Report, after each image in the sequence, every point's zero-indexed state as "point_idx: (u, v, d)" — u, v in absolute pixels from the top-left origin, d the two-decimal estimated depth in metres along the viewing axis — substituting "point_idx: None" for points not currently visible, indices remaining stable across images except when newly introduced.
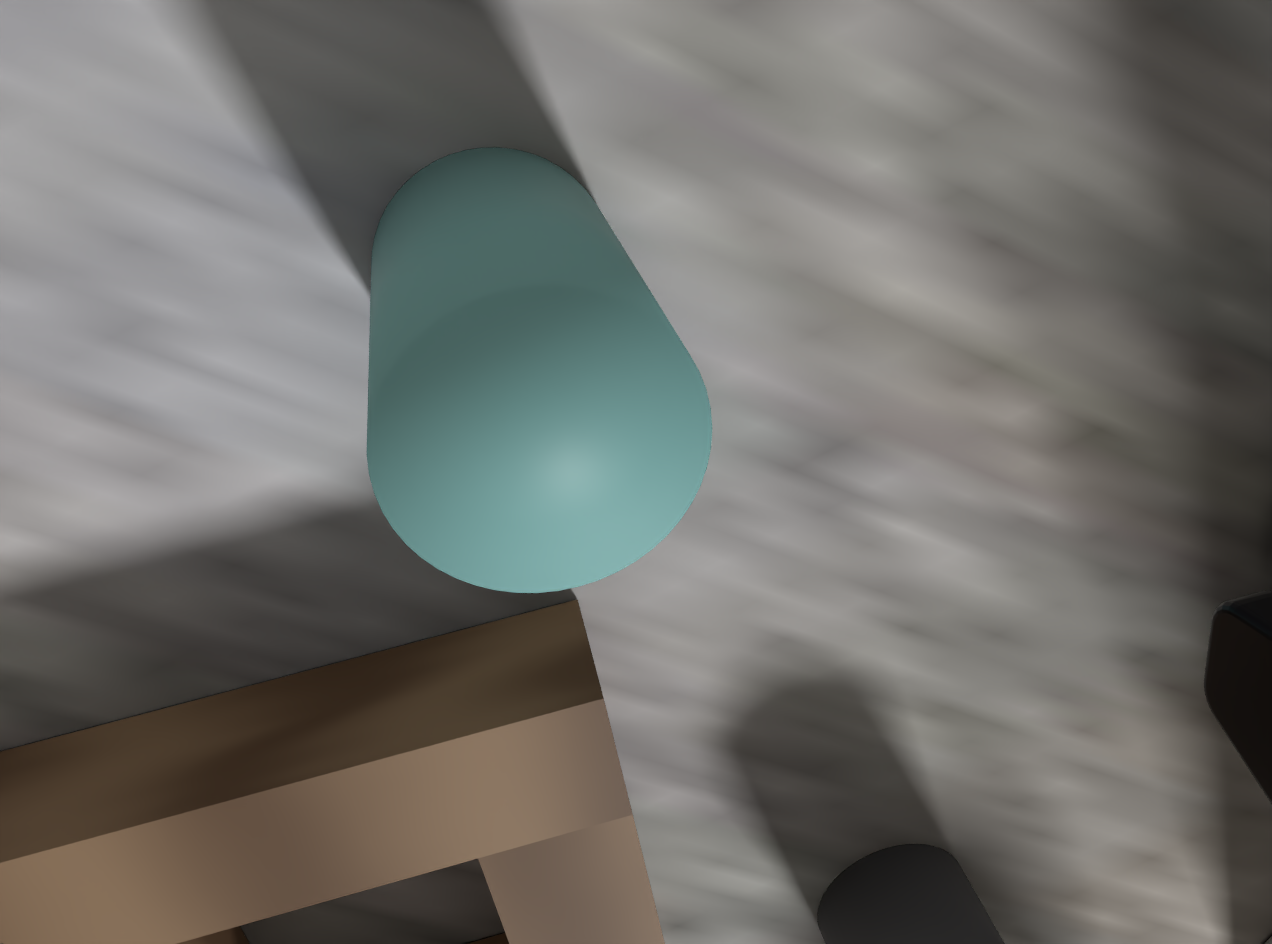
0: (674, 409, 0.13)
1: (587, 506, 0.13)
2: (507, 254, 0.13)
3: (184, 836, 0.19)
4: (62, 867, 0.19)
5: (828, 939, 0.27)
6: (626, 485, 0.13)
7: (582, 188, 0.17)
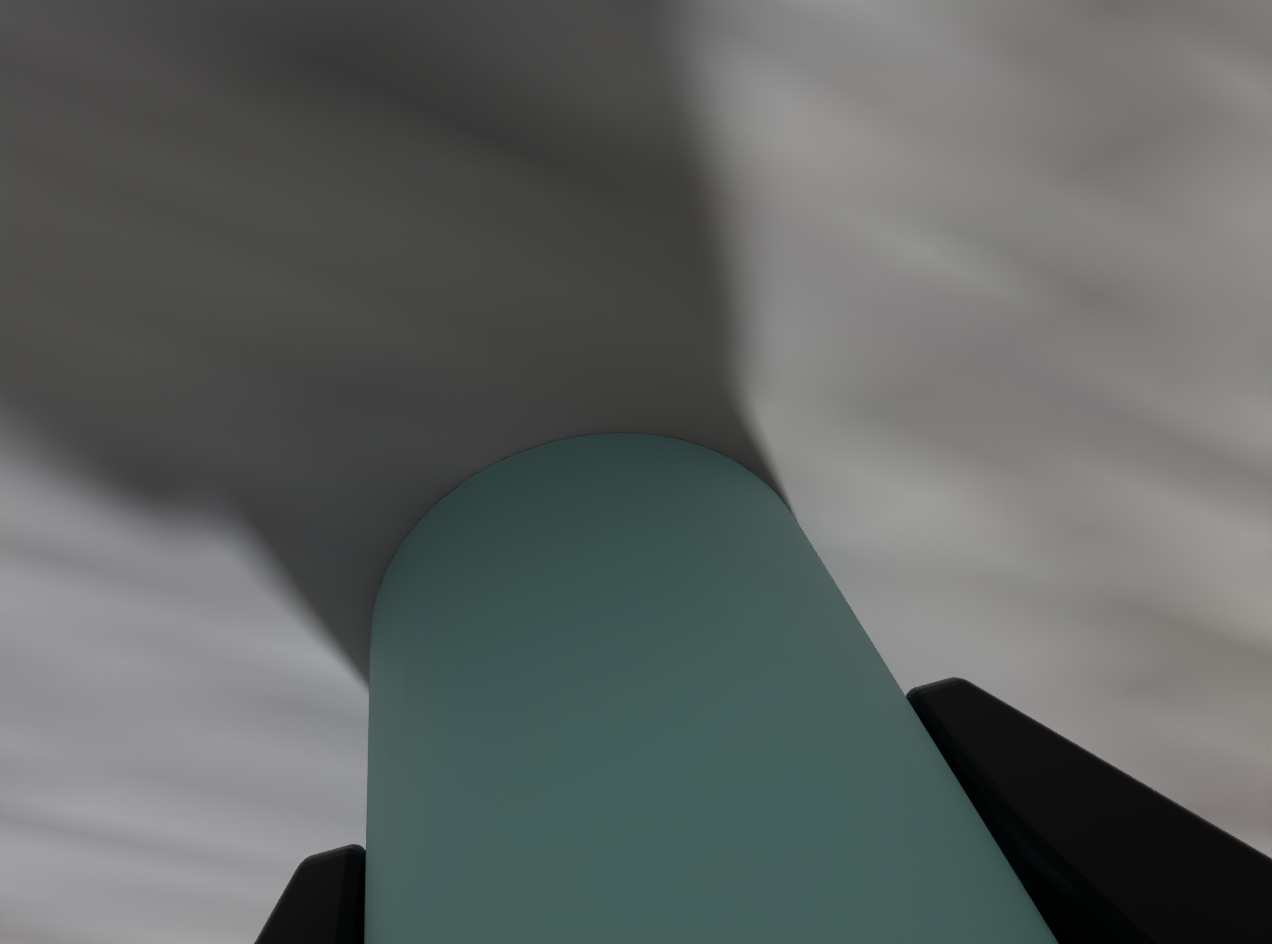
0: None
1: None
2: None
3: None
4: None
5: None
6: None
7: (780, 507, 0.09)
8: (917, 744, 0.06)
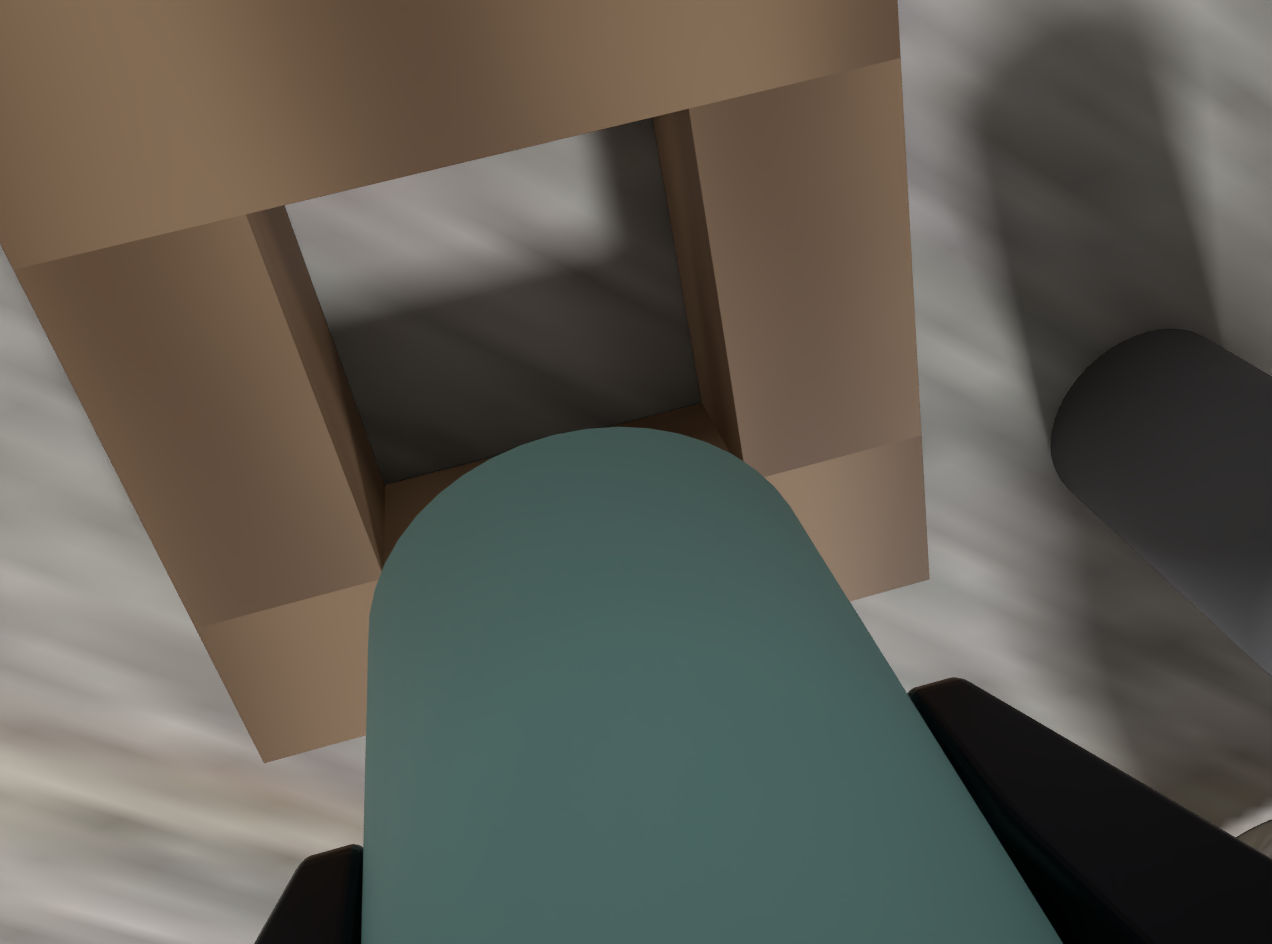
0: None
1: None
2: None
3: None
4: (116, 20, 0.13)
5: (1073, 449, 0.22)
6: None
7: (779, 501, 0.09)
8: (916, 737, 0.06)
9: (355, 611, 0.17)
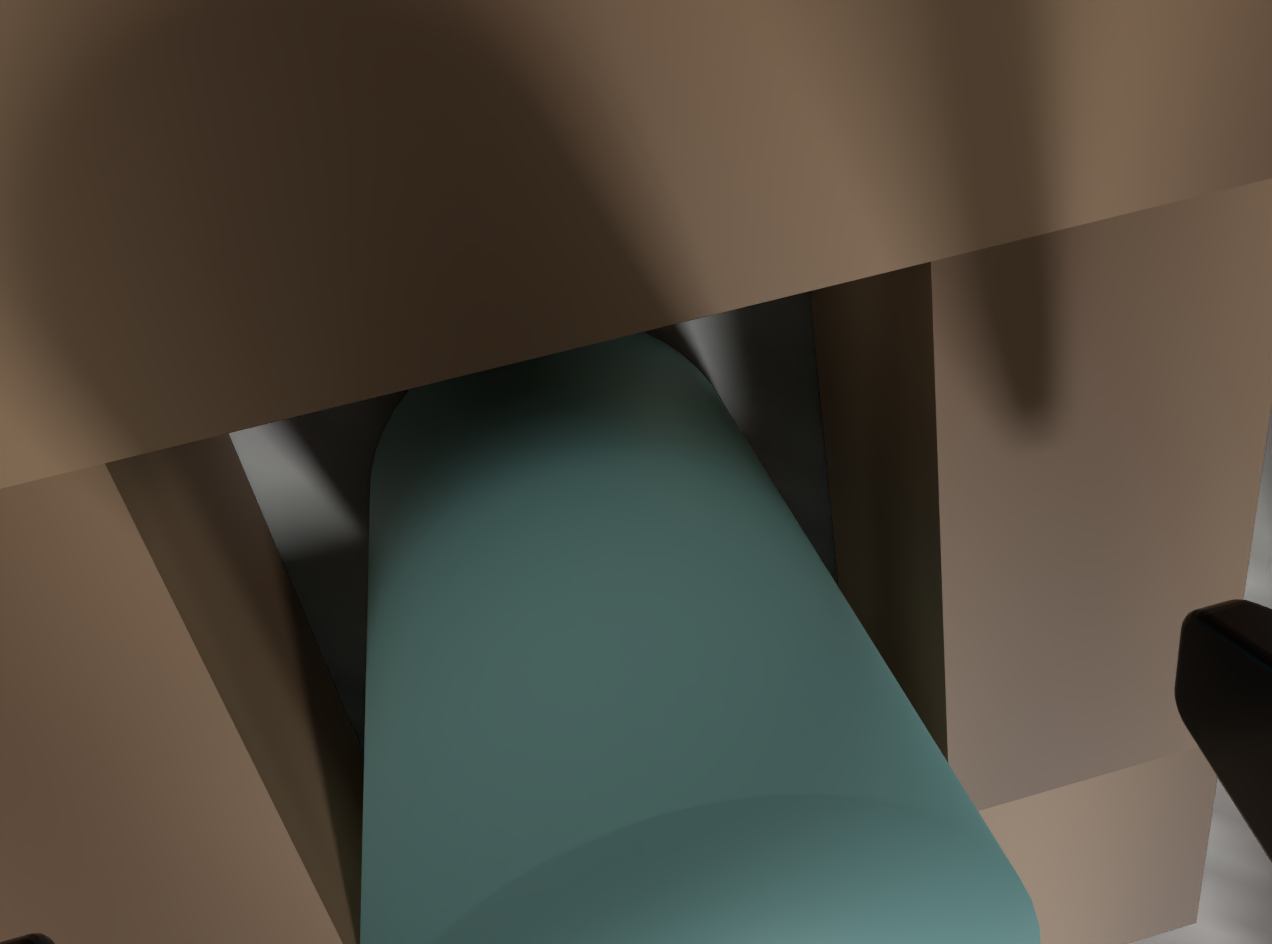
0: None
1: None
2: (641, 659, 0.06)
3: (176, 38, 0.06)
4: None
5: None
6: None
7: (702, 379, 0.11)
8: (782, 519, 0.09)
9: None
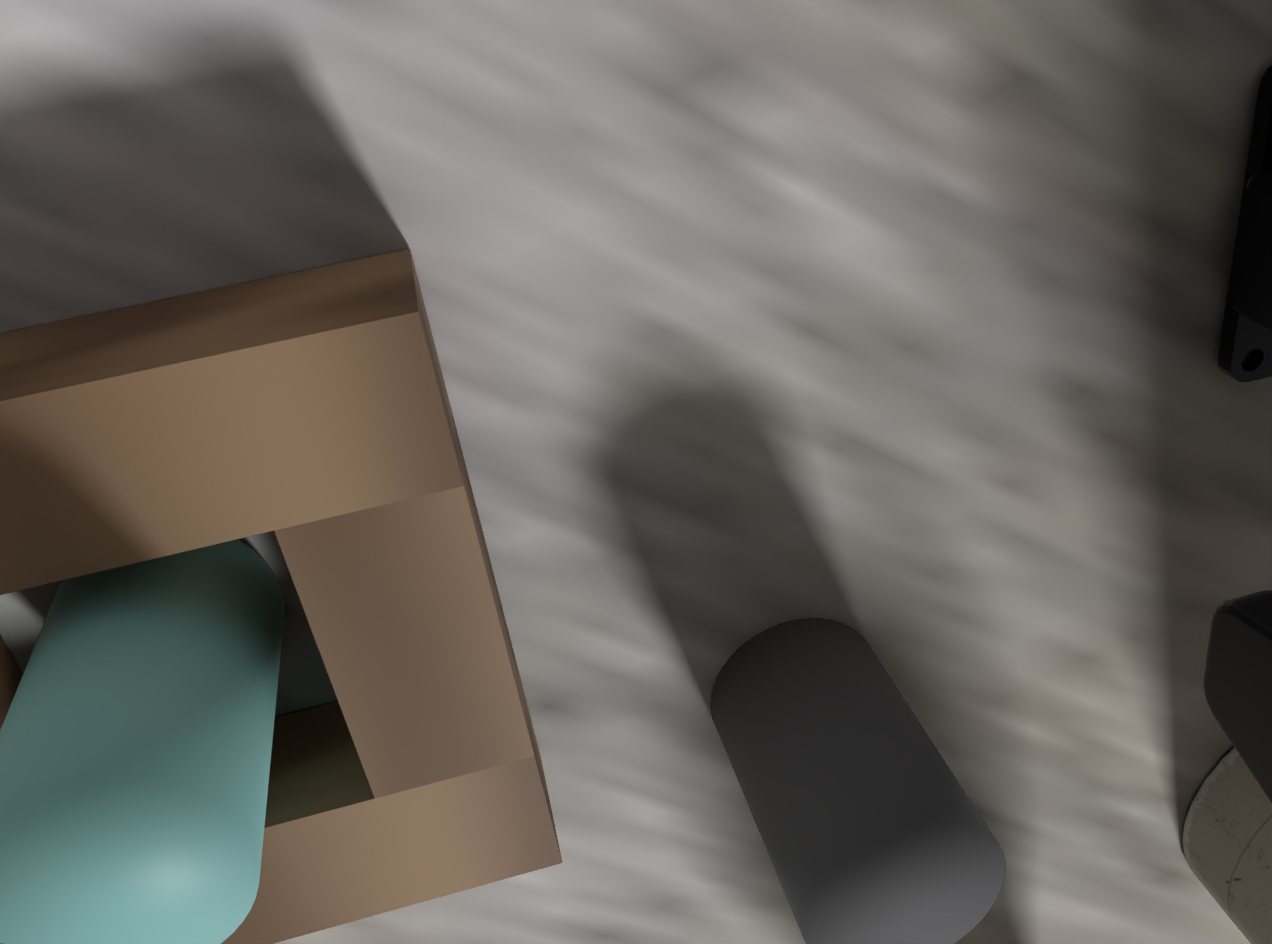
0: (219, 849, 0.15)
1: (156, 919, 0.16)
2: (78, 722, 0.15)
3: None
4: None
5: (720, 724, 0.24)
6: (188, 902, 0.16)
7: (241, 554, 0.20)
8: (217, 647, 0.17)
9: None
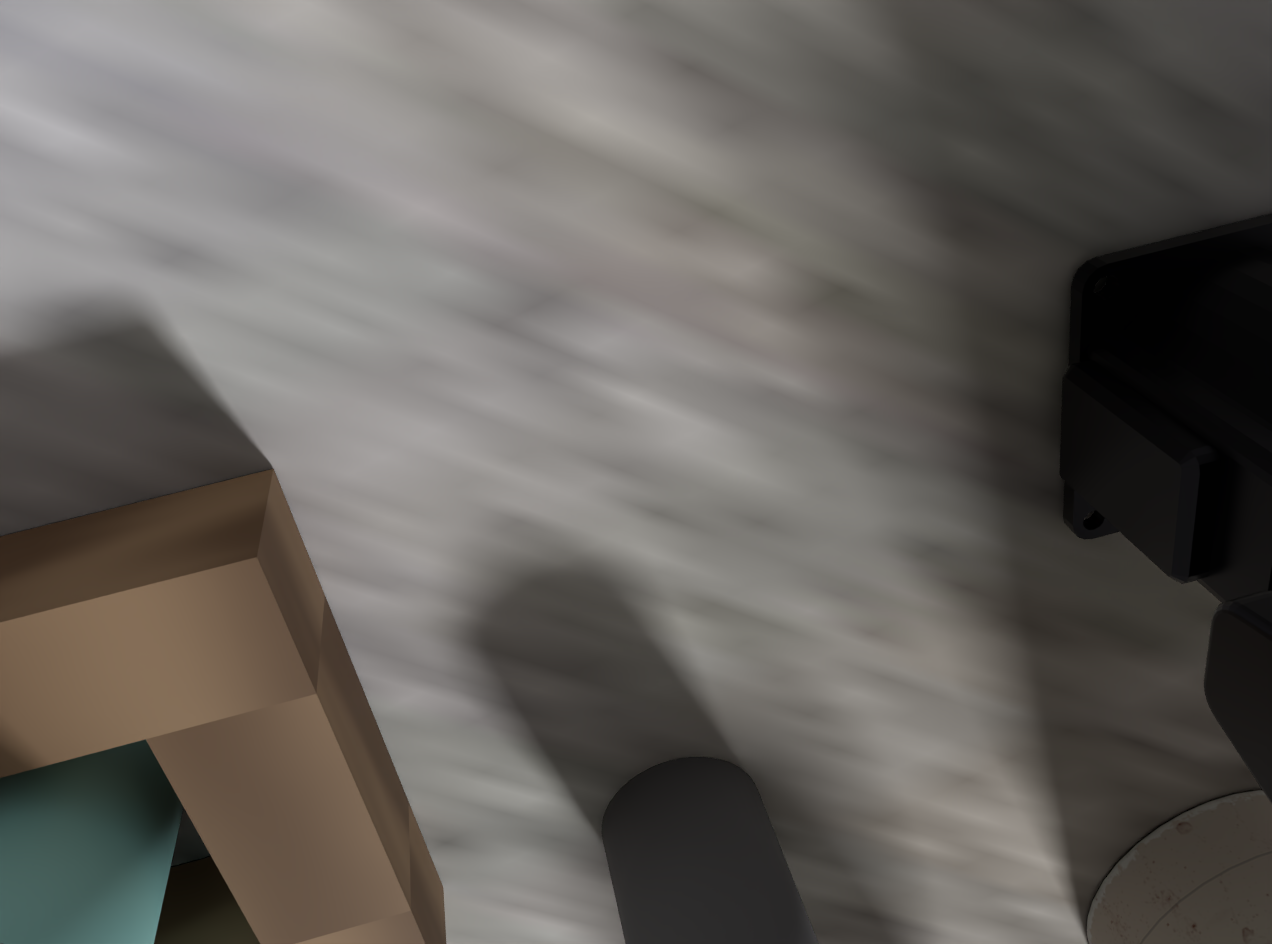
0: None
1: None
2: None
3: None
4: None
5: (607, 857, 0.26)
6: None
7: None
8: (101, 838, 0.19)
9: None
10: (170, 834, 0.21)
